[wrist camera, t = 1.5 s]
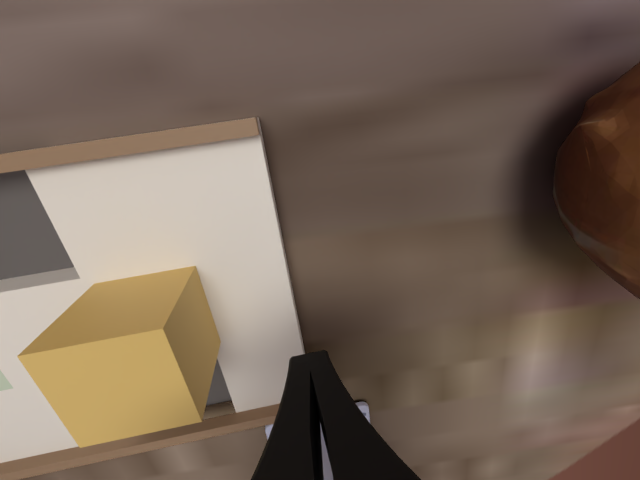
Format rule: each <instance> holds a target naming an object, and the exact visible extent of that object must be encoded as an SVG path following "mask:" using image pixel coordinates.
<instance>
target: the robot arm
mask: <svg viewBox="0 0 640 480" xmlns="http://www.w3.org/2000/svg"><path fill="white" fill-rule="evenodd" d="M265 432H266V435H267V439H268V441H267V443H266V446H265V449H264V451H263V453H262V456H261V458H260V461H259V463H258V465H257V468H256V470H255V472H254V474H253V476H252V478H251V480H421V479H420V478H419V477H418V476H417V475H416V474H415V473H414V472H413V471H412V470H411V469H410V468H409V467H408V466H407V465H406V464H405V463H404V462H403V461H402V460H401V459H400V458H399V457H398V456H397V455H396V453H395V452H394V451H393V450H392V449H391V448H390V447H389V446H388V444H387V443H386V442H385V441H384V440H383V439H382V437H381V436H380V435H379V434H378V433H377V431H376V430H375V429H374V428H373V426H372V425H371V424H370V415H369V407H368V404H367V403H366V402H357V403H355V402H354V401H353V399H352V398H351V396H350V394H349V393H348V391H347V390H346V388H345V387H344V385H343V383H342V382H341V380H340V378H339V376H338V375H337V373H336V371H335V369H334V367H333V365H332V363H331V360H330V358H329V355H328V352H327V351H325V350H322V351H317V352H313V353H308V354H303V355H298V356H293V357H291V358H290V359H289V367H288V373H287V378H286V383H285V387H284V391H283V395H282V398H281V402H280V405H279V409H278V412H277V415H276V418H275V421H274V424H270V425H265Z"/></svg>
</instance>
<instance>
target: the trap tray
mask: <svg viewBox="0 0 640 480" xmlns="http://www.w3.org/2000/svg"><path fill="white" fill-rule="evenodd" d="M191 266H196V268H197V271H198V274H199V277H200V280H201V283H202V286H203V289H204V292H205V295H206V298H207V301H208V304H209V307H210V310H211V313H212V316H213V319H214V322H215V325H216V328H217V331H218V335H219V338H220V341H221V343H220V348H219V352H218V356H217V360H216V365H215V369H214V373H213V377H212V382H211V386H210V390H209V394H208V398H207V403H206V405H211V404H216V403H220V402H225V401H230V400H232V402H233V405H234V408H235V411H236V413H233V414H228V415H223V416H219V417H214V418H209V419H205V420H202V422H199V423H194V424H190V425H185V426H180V427H176V428H171V429H166V430H162V431H157V432H152V433H148V434H143V435H138V436H134V437H129V438H124V439H120V440H115V441H110V442H106V443H101V444H96V445H92V446H87V447H82V448H80V447H79V446H78V444H77V443H76V442H75V440H74V439H73V437H72V436H71V434H70V433H69V431H68V430H67V428H66V427H65V426H64V424H63V423H62V421H61V420H60V418H59V417H58V415H57V414H56V412H55V411H54V410H53V408H52V407H51V405H50V404H49V402H48V401H47V399H46V398H45V396H44V395H43V394H42V392H41V391H40V389H39V388H38V386H37V385H36V383H35V382H34V380H33V379H32V378H31V376H30V375H29V373H28V372H27V370H26V369H25V367H24V366H23V364H22V363H21V361H20V360H19V359H18V357H17V356H18V355H19V354H20V353H21V352H22V351H23V350H24V349H25V348H26V347H27V346H28V345H30V344H31V343H32V342H33V341H34V340H35V339H36V338H37V337H38V336H39V335H40V334H41V333H42V332H43V331H44V330H45V329H47V328H48V327H49V326H50V325H51V324H52V323H53V322H54V321H55V320H56V319H57V318H58V317H59V316H60V315H61V314H62V313H64V312H65V311H66V310H67V309H68V308H69V307H70V306H71V305H72V304H73V303H74V302H75V301H76V300H77V299H78V298H79V297H81V296H82V295H83V294H84V293H85V292H86V291H87V290H88V289H89V288H90V287H91V286H92V285H93V284H95V283H100V282H106V281H112V280H117V279H123V278H129V277H134V276H140V275H146V274H151V273H157V272H162V271H168V270H174V269H179V268H185V267H191ZM303 354H305V351H304V345H303V340H302V335H301V330H300V325H299V320H298V315H297V310H296V305H295V300H294V294H293V289H292V284H291V279H290V274H289V269H288V264H287V259H286V254H285V248H284V243H283V238H282V233H281V228H280V223H279V218H278V213H277V208H276V203H275V197H274V192H273V187H272V182H271V177H270V172H269V167H268V162H267V157H266V151H265V146H264V141H263V136H262V131H261V126H260V121H259V117H254V118H247V119H240V120H233V121H226V122H219V123H212V124H205V125H198V126H191V127H184V128H177V129H170V130H163V131H156V132H149V133H142V134H135V135H128V136H121V137H114V138H107V139H100V140H93V141H87V142H80V143H73V144H66V145H59V146H52V147H45V148H38V149H31V150H24V151H17V152H10V153H3V154H0V480H18V479H22V478H27V477H32V476H36V475H41V474H45V473H50V472H55V471H59V470H64V469H68V468H73V467H77V466H82V465H87V464H91V463H96V462H100V461H105V460H110V459H114V458H119V457H123V456H128V455H133V454H137V453H142V452H146V451H151V450H155V449H160V448H165V447H169V446H174V445H178V444H183V443H188V442H192V441H197V440H201V439H206V438H210V437H215V436H220V435H224V434H229V433H233V432H238V431H243V430H247V429H252V428H256V427H261V426H265V425H270V424H274V421H275V418H276V415H277V412H278V409H279V405H280V402H281V398H282V395H283V391H284V387H285V383H286V378H287V373H288V367H289V359H290V358H291V357H293V356H298V355H303Z"/></svg>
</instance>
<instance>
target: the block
mask: <svg viewBox="0 0 640 480" xmlns="http://www.w3.org/2000/svg"><path fill="white" fill-rule="evenodd" d="M220 343H221V341H220V338H219V335H218V331H217V328H216V325H215V322H214V319H213V316H212V313H211V310H210V307H209V304H208V301H207V298H206V295H205V292H204V289H203V286H202V283H201V280H200V277H199V274H198V271H197V268H196V266H191V267H185V268H179V269H174V270H168V271H162V272H157V273H151V274H146V275H140V276H134V277H129V278H123V279H117V280H112V281H106V282H100V283H95V284H93V285H92V286H91V287H90V288H89V289H88V290H87V291H86V292H85V293H84V294H83V295H82V296H81V297H79V298H78V299H77V300H76V301H75V302H74V303H73V304H72V305H71V306H70V307H69V308H68V309H67V310H66V311H65V312H64V313H62V314H61V315H60V316H59V317H58V318H57V319H56V320H55V321H54V322H53V323H52V324H51V325H50V326H49V327H48V328H47V329H45V330H44V331H43V332H42V333H41V334H40V335H39V336H38V337H37V338H36V339H35V340H34V341H33V342H32V343H31V344H30V345H28V346H27V347H26V348H25V349H24V350H23V351H22V352H21V353H20V354H19V355H18V356H17V357H18V359H19V360H20V361H21V363H22V364H23V366H24V367H25V369H26V370H27V372H28V373H29V375H30V376H31V378H32V379H33V380H34V382H35V383H36V385H37V386H38V388H39V389H40V391H41V392H42V394H43V395H44V396H45V398H46V399H47V401H48V402H49V404H50V405H51V407H52V408H53V410H54V411H55V412H56V414H57V415H58V417H59V418H60V420H61V421H62V423H63V424H64V426H65V427H66V428H67V430H68V431H69V433H70V434H71V436H72V437H73V439H74V440H75V442H76V443H77V444H78V446H79V447H80V448H82V447H87V446H92V445H96V444H101V443H106V442H110V441H115V440H120V439H124V438H129V437H134V436H138V435H143V434H148V433H152V432H157V431H162V430H166V429H171V428H176V427H180V426H185V425H190V424H194V423H199V422H202V420H203V415H204V411H205V407H206V403H207V398H208V394H209V390H210V386H211V382H212V377H213V373H214V369H215V365H216V360H217V356H218V352H219V348H220Z"/></svg>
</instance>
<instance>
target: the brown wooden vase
mask: <svg viewBox="0 0 640 480" xmlns="http://www.w3.org/2000/svg"><path fill="white" fill-rule="evenodd" d="M553 199H554V202H555V205H556V207H557V209H558V212H559V215H560V219H561V221H562V223H563V225H564V226H565V228H566V229H567V230H568V232H569V233H570V235H571V236H572V238H573V239H574V241H575V242H576V244H577V245H578V246H579V247H580V249H581V250H582V251H583V252H584V253H585V254H586V255H587V256H588V257H589V258H590V259H591V260H592V261H593V262H594V263H595V264H596V265H597V266H598V267H599V268H600V269H602V270H603V271H604V272H605V273H606V274H607V275H609V276H610V277H611V278H612V279H614V280H615V281H616V282H618V283H619V284H620V285H622V286H623V287H624V288H625V289H627V290H628V291H629V292H631V293H632V294H633V295H634V296H636V297H637V298H639V299H640V62H639V63H638V64H637V65H635V66H634V67H633V68H632V69H630V70H629V71H628V72H626V73H625V74H624V75H622V76H621V77H620V78H619V79H618V80H617V81H616V82H614V83H613V84H612V85H611V86H610V87H608V88H606V89H605V90H603V91H601V92H599V93H597V94H595V95H594V96H592V97H591V98H590V99H589V100H588V101H587V102H586V104H585V108H584V111H583V113H582V116H581V118H580V120H579V122H578V124H577V125H576V127H575V128H574V129H573V130H572V132H571V133H570V134H569V135H568V137H567V138H566V140H565V141H564V142H563V144H562V145H561V146H560V148H559V149H558V153H557V158H556V164H555V172H554V186H553Z"/></svg>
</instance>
